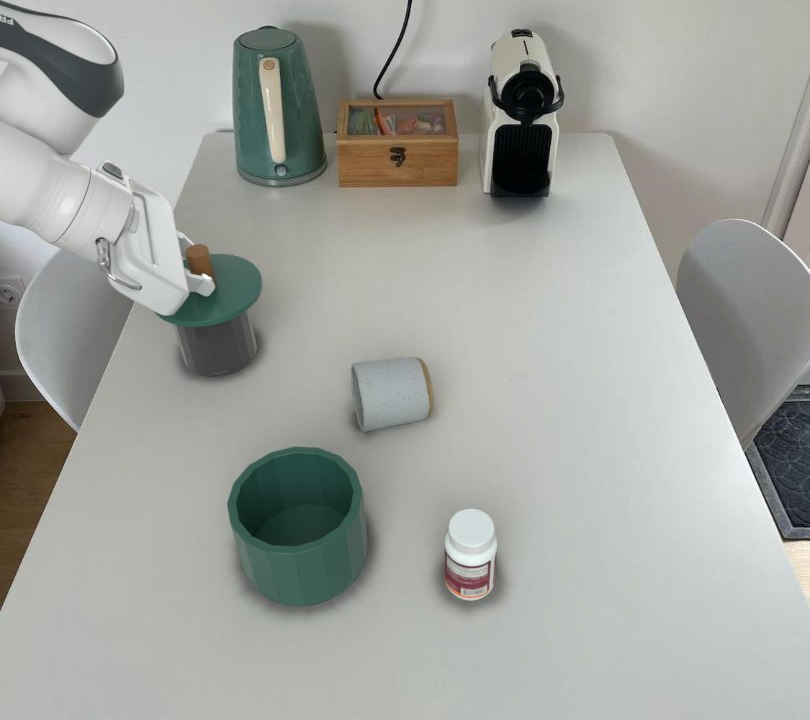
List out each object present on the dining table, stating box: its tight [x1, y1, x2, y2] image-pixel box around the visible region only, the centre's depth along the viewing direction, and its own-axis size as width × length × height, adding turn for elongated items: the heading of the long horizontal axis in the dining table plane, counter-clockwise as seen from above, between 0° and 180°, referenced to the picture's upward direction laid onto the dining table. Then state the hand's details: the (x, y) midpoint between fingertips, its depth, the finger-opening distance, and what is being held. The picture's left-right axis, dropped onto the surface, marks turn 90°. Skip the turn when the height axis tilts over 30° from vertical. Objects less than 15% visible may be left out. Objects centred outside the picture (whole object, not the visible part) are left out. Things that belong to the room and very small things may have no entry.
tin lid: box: [154, 243, 264, 327], centre depth 93 cm, size 13×13×6 cm
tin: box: [226, 446, 369, 607], centre depth 76 cm, size 12×12×8 cm
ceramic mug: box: [350, 356, 434, 433], centre depth 90 cm, size 11×8×8 cm
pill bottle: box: [443, 507, 499, 601], centre depth 73 cm, size 5×5×8 cm
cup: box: [172, 308, 258, 378], centre depth 98 cm, size 9×9×9 cm
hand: (208, 274), depth 93 cm, fingers open, 4 cm apart
